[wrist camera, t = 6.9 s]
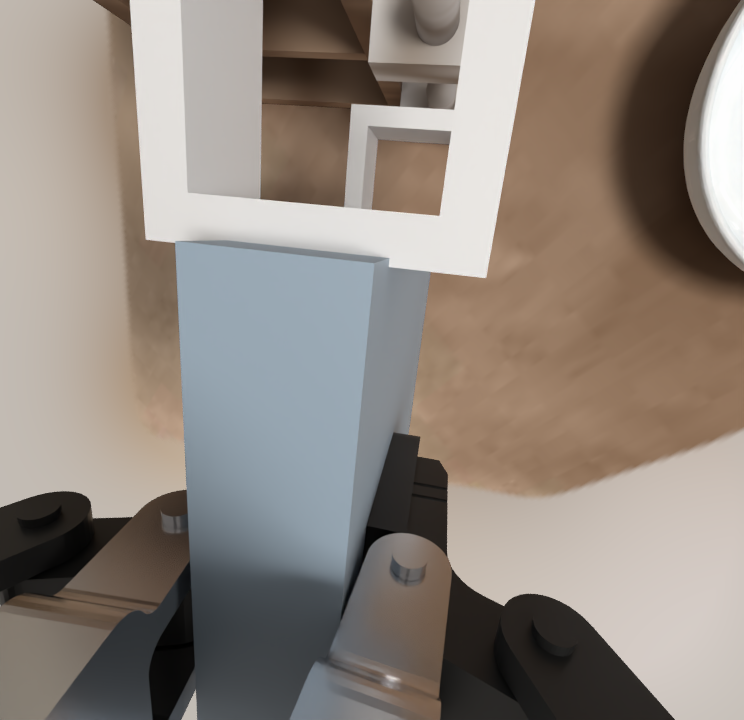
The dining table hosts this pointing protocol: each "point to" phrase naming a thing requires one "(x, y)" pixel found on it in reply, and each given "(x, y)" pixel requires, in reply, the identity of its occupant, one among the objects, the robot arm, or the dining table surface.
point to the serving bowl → (719, 141)
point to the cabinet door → (296, 326)
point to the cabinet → (357, 51)
